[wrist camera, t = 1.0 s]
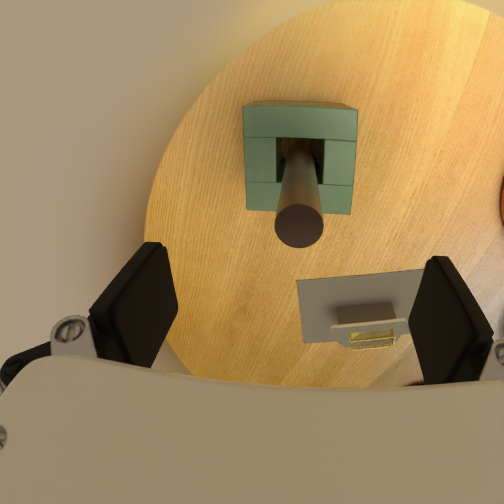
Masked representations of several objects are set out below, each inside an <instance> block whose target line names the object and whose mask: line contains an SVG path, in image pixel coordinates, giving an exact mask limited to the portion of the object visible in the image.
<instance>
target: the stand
mask: <svg viewBox="0 0 504 504" xmlns="http://www.w3.org/2000/svg"><path fill="white" fill-rule="evenodd" d="M242 108H243V133H244V160H245V181H246V182H245V185H246V209H247V210H260V211H277V208H278V202H279V197H280V191H281V186H282V181H283V175H284V170H285V164H286V160H282V137H283V138H312V139H318V161H314V165H315V171H316V177H317V183H318V189H319V196H320V203H321V209H322V213H329V214H346V215H350V214H351V205H352V195H353V183H354V172H355V159H356V141H357V124H358V110H356V109H354V108H352V107H350V106H347V105H345V104H340V103H326V102H306V101H255V102H253V103H250V104H247V105H245V106H243V107H242Z"/></svg>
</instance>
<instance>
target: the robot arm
mask: <svg viewBox="0 0 504 504" xmlns="http://www.w3.org/2000/svg"><path fill="white" fill-rule="evenodd" d="M177 312H178V302H177V297H176V293H175V288H174V283H173V278H172V273H171V268H170V263H169V258H168V253H167V249H166V247H165V246H163V245H162V244H161V243H160V242H145V243H144V244H143V245H142V246H141V247H140V248H139V249H138V251H137V252H136V253H135V254H134V255H133V256H132V258H131V259H130V260H129V261H128V262H127V263H126V265H125V266H124V267H123V268H122V269H121V271H120V272H119V273H118V274H117V275H116V277H115V278H114V279H113V280H112V281H111V283H110V284H109V285H108V287H107V288H106V289H105V290H104V291H103V293H102V294H101V295H100V297H99V298H98V299H97V300H96V302H95V303H94V304H93V305H92V307H91V308H90V309H89V313H90V315H89V316H88V318H85V317H84V316H80V315H73V316H68V317H66V318H64V319H62V320H60V321H59V322H58V323H57V324H56V325H55V326H54V327H53V329H52V331H51V335H50V339H51V340H50V341H49V342H46V343H44V344H41V345H39V346H36V347H34V348H31V349H29V350H26V351H24V352H21V353H19V354H16V355H14V356H12V357H10V358H9V359H7V360H6V362H5V363H4V364H3V366H2V368H1V370H0V504H504V339H499V340H496V341H495V342H494V341H493V339H492V336H493V334H494V332H493V330H492V328H491V326H490V324H489V322H488V321H487V319H486V317H485V315H484V313H483V312H482V310H481V308H480V306H479V305H478V303H477V301H476V300H475V298H474V296H473V295H472V293H471V291H470V290H469V288H468V286H467V285H466V283H465V282H464V280H463V279H462V277H461V275H460V274H459V272H458V271H457V269H456V268H455V266H454V265H453V263H452V262H451V260H450V259H449V258H448V257H447V256H432V258H431V259H429V260H427V262H426V265H425V269H424V272H423V275H422V279H421V282H420V285H419V288H418V292H417V295H416V298H415V301H414V304H413V307H412V309H411V312H410V315H409V319H408V326H409V330H410V333H411V336H412V339H413V342H414V346H415V349H416V352H417V356H418V359H419V363H420V367H421V370H422V374H423V378H424V381H425V385H421V386H405V387H382V388H323V387H299V386H282V385H269V384H257V383H247V382H237V381H229V380H220V379H213V378H205V377H198V376H192V375H185V374H179V373H173V372H168V371H162V370H156V369H151V366H152V364H153V362H154V360H155V358H156V356H157V354H158V352H159V349H160V347H161V345H162V343H163V341H164V339H165V337H166V335H167V333H168V331H169V329H170V327H171V325H172V323H173V321H174V319H175V317H176V315H177Z"/></svg>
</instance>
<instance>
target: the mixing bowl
mask: <svg viewBox="0 0 504 504" xmlns="http://www.w3.org/2000/svg"><path fill="white" fill-rule="evenodd" d="M501 213H502V218H503V223H504V187H503V192H502V200H501Z"/></svg>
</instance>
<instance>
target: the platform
mask: <svg viewBox="0 0 504 504" xmlns="http://www.w3.org/2000/svg"><path fill="white" fill-rule="evenodd" d="M423 272H424V269H418V270H409V271H399V272H389V273H379V274H368V275H358V276H346V277H335V278H323V279H310V280H297V288H298V296H299V305H300V313H301V321H302V330H303V339H304V343H318V342H332V341H337V342H338V343H340V344H341V345H342V346H344V347H345V348H349V347H352V350H351V351H355V350H366V346H368V348H367V349H375V348H384V347H383V345H384V344H386V345H385V347H392V346H394V342H395V341H397V340H398V338H399V337H400V336H401V334H409V333H410V330H409V326H408V319H409V315H410V312H411V309H412V307H413V304H414V301H415V298H416V295H417V292H418V288H419V285H420V282H421V279H422V275H423ZM388 343H390V344H389V346H387V344H388ZM391 343H392V346H390V345H391ZM381 344H382V347H380V345H381ZM370 345H372V347H371V348H369V347H370ZM373 345H375V348H373ZM377 345H379V346H378V347H376V346H377ZM360 346H362V348H361V349H359V348H360ZM363 346H365V349H363ZM353 347H355V350H353ZM356 347H358V349H356Z"/></svg>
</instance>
